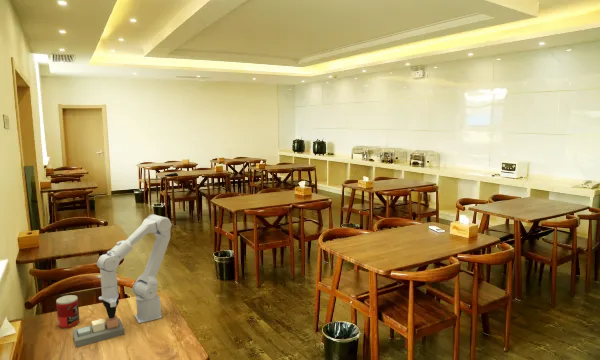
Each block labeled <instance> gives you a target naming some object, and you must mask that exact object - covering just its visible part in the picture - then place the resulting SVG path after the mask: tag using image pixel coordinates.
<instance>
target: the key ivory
mask: <svg viewBox="0 0 600 360" xmlns="http://www.w3.org/2000/svg"><path fill="white" fill-rule="evenodd" d="M104 322H105V320H104V319H103V318H99V319H95V320H91V325H92V329H93V333H95V332H98V331H102V330H105V325H104Z"/></svg>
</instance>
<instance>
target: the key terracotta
mask: <svg viewBox="0 0 600 360" xmlns="http://www.w3.org/2000/svg"><path fill="white" fill-rule="evenodd" d="M118 318H119V317H118V316H117V315H116V314H115V317H114V318H110V319H109V317H108V316H107V317H105V322H106V326H107V329H110V328H114V327H118V326H119V324H118Z"/></svg>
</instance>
